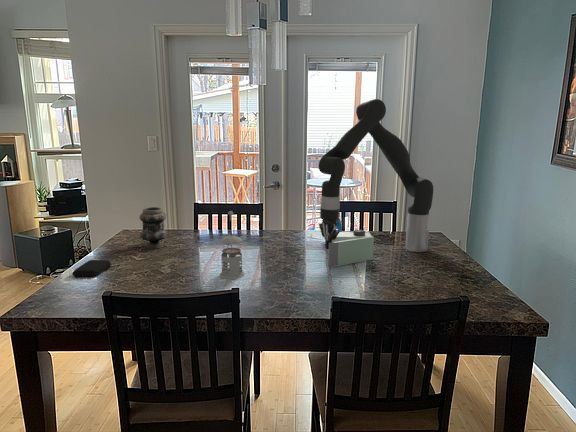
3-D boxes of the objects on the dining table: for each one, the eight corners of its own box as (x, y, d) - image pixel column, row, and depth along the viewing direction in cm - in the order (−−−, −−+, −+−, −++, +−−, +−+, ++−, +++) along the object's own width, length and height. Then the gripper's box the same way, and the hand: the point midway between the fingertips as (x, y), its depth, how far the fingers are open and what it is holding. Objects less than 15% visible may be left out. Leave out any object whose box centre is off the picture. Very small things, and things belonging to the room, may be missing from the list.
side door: (371, 258, 182) (372, 236, 180) (372, 259, 181) (374, 236, 179) (328, 266, 172) (328, 242, 170) (329, 267, 171) (330, 243, 169)
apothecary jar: (173, 244, 202) (171, 207, 198) (152, 251, 192) (150, 212, 188) (155, 240, 208) (153, 204, 204) (135, 246, 198) (132, 209, 194)
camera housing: (368, 253, 190) (369, 229, 187) (371, 259, 182) (372, 233, 180) (327, 253, 191) (328, 228, 188) (329, 258, 183) (329, 233, 180)
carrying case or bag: (98, 279, 159) (115, 266, 173) (97, 271, 158) (114, 259, 172) (70, 278, 159) (89, 265, 173) (69, 271, 158) (89, 258, 173)
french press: (224, 280, 157) (222, 214, 152) (214, 271, 167) (212, 208, 162) (248, 276, 162) (247, 212, 156) (237, 267, 172) (236, 206, 166)
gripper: (347, 209, 165) (344, 252, 169) (329, 203, 177) (327, 243, 181) (330, 211, 162) (328, 254, 166) (313, 204, 174) (312, 245, 177)
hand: (328, 248), depth 173 cm, fingers closed
